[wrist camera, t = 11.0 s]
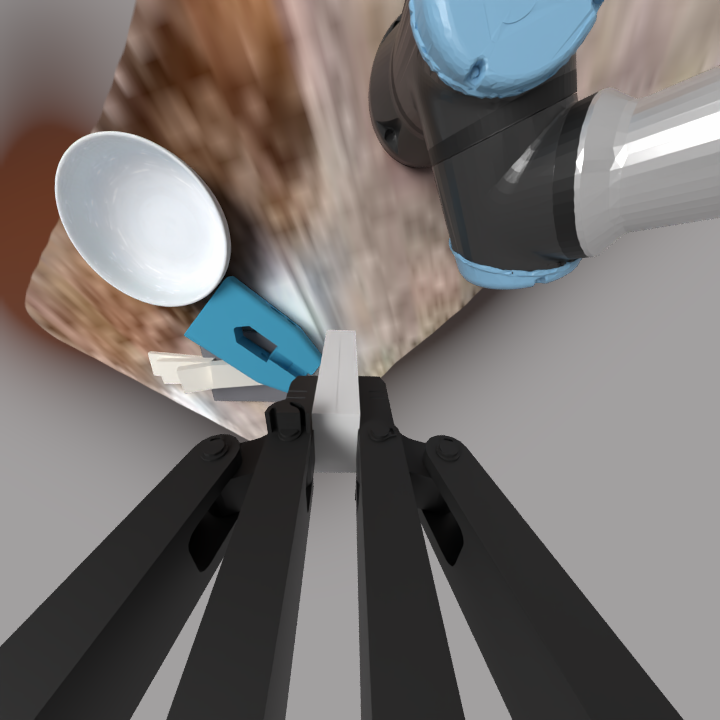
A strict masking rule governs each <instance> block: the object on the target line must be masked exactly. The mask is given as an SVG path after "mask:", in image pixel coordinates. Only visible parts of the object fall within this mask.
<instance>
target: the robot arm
mask: <svg viewBox="0 0 720 720" xmlns="http://www.w3.org/2000/svg"><path fill="white" fill-rule="evenodd" d="M603 2H604V0H405V3H404V7H403V11H402V14H401V15H400V16H399V17H398V18H397V19H396V20H395V21H394V22H393V23H392V25H391V26H390V28H389V29H388V30H387V32H386V34H385V35H384V37H383V39H382V41H381V43H380V45H379V48H378V50H377V53H376V56H375V59H374V62H373V66H372V71H371V77H370V84H369V111H370V117H371V121H372V125H373V128H374V131H375V133H376V136H377V138H378V140H379V141H380V143H381V145H382V146H383V148H384V149H385V150H386V151H387V152H388V153H389V155H391V156H392V157H393V158H394V159H395V160H397V161H399V162H400V163H402V164H405V165H407V166H411V167H417V168H423V167H430V166H432V170H433V174H434V178H435V182H436V186H437V190H438V194H439V198H440V202H441V205H442V209H443V213H444V217H445V221H446V225H447V229H448V233H449V237H450V239H449V246H450V249H451V251H452V253H453V254H454V256H455V259H456V263H457V266H458V269H459V271H460V273H461V274H462V276H463V277H464V278H465V279H466V280H467V281H469V282H470V283H472V284H474V285H477V286H480V287H484V288H491V289H521V288H527V287H533V286H534V284H535V283H549V282H552V281H554V280H557V279H559V278H561V277H563V276H565V275H567V274H568V273H570V272H571V271H573V270H574V269H575V268H576V267H577V266H578V264H579V262H580V260H581V259H582V258H585V257H594V256H598V255H600V254H601V253H603V252H604V251H605V250H606V249H607V248H608V247H609V246H611V245H612V244H613V243H614V242H615V241H617V240H618V239H619V238H620V237H622V236H623V235H625V234H627V233H629V232H634V231H640V230H646V229H653V228H659V227H665V226H671V225H678V224H684V223H689V222H696V221H702V220H709V219H714V218H720V65H719V66H717V67H714V68H712V69H710V70H707V71H705V72H703V73H700V74H698V75H696V76H693V77H691V78H689V79H686V80H684V81H682V82H679V83H677V84H675V85H672V86H670V87H668V88H666V89H663V90H661V91H659V92H656V93H654V94H652V95H649V96H647V97H642V98H634V97H632V96H630V95H628V94H625V93H623V92H621V91H619V90H617V89H615V88H613V87H608V88H605V89H602V90H600V91H599V92H597V93H595V94H593V95H591V96H588V97H586V98H584V99H582V100H580V101H578V97H577V93H575V92H577V72H576V51H577V49H578V48H579V46H580V45H581V44H582V43H583V41H584V39H585V38H586V36H587V35H588V33H589V32H590V30H591V29H592V27H593V25H594V23H595V21H596V18H597V15H596V14H597V11H598V9H599V8H600V6H601V4H602V3H603ZM574 93H575V94H574ZM572 94H573V95H572ZM484 139H485V140H484ZM482 140H483V141H482ZM480 141H481V142H480ZM478 142H479V143H478ZM476 143H477V144H476ZM265 417H266V424H267V430H268V434H267V435H265V436H263V437H261V438H258V439H255V440H251V441H247V442H243V443H239V441H238V440H237V439H236V437H234V436H231V435H226V434H220V435H216V436H211V437H209V438H207V439H205V440H203V441H201V442H200V443H199V444H197V445H196V446H195V447H194V448H193V449H192V450H191V451H190V452H189V453H188V454H187V455H186V456H185V457H184V458H183V459H182V460H181V461H180V462H179V463H178V464H177V465H176V466H175V467H174V468H173V470H172V471H170V472H169V474H168V475H167V476H166V477H165V478H164V479H163V480H162V481H161V482H160V483H159V484H158V485H157V486H156V487H155V488H154V489H153V490H152V491H151V492H150V493H149V494H148V495H147V496H146V497H145V498H144V499H143V500H142V501H141V502H140V503H139V504H138V505H137V507H135V509H134V510H133V511H132V512H131V513H130V514H129V515H128V516H127V517H126V518H125V519H124V520H123V521H122V522H121V523H120V524H119V525H118V526H117V527H116V528H115V529H114V530H113V531H112V532H111V533H110V534H109V535H108V536H107V537H106V538H105V540H103V542H102V543H101V544H100V545H99V546H98V547H97V548H96V549H95V550H94V551H93V552H92V553H91V554H90V555H89V556H88V557H87V558H86V559H85V560H84V561H83V562H82V563H81V564H80V565H79V566H78V567H77V568H76V569H75V570H74V571H73V572H72V573H71V574H70V576H68V578H67V579H66V580H65V581H64V582H63V583H62V584H61V585H60V586H59V587H58V588H57V589H56V590H55V591H54V592H53V593H52V594H51V595H50V596H49V597H48V598H47V599H46V600H45V601H44V602H43V603H42V604H41V605H40V606H39V607H38V608H37V609H36V611H35V612H34V613H33V614H32V615H31V616H30V617H29V618H28V619H27V620H26V621H25V622H24V623H23V624H22V625H21V626H20V627H19V628H18V629H17V630H16V631H15V632H14V633H13V634H12V635H11V636H10V637H9V638H8V639H7V640H6V641H5V642H4V643H3V644H2V645H1V647H0V720H130V719H131V717H132V715H133V713H134V712H135V710H136V708H137V706H138V705H139V703H140V701H141V699H142V697H143V696H144V694H145V692H146V690H147V689H148V687H149V685H150V684H151V682H152V680H153V679H154V677H155V675H156V673H157V672H158V670H159V668H160V666H161V665H162V663H163V661H164V659H165V658H166V656H167V654H168V653H169V651H170V649H171V647H172V646H173V644H174V642H175V640H176V639H177V637H178V635H179V633H180V632H181V630H182V628H183V626H184V625H185V623H186V621H187V619H188V618H189V616H190V614H191V613H192V611H193V609H194V607H195V606H196V604H197V602H198V600H199V599H200V597H201V595H202V593H203V592H204V590H205V588H206V587H207V585H208V583H209V581H210V580H211V578H212V576H213V574H214V573H215V571H216V569H217V568H218V566H219V564H220V562H221V561H222V559H223V561H222V564H221V567H220V570H219V572H218V575H217V578H216V581H215V584H214V587H213V590H212V593H211V595H210V598H209V601H208V604H207V606H206V609H205V612H204V615H203V618H202V621H201V623H200V626H199V629H198V632H197V635H196V638H195V641H194V643H193V646H192V649H191V652H190V655H189V657H188V660H187V663H186V666H185V668H184V672H183V674H182V677H181V680H180V683H179V686H178V688H177V691H176V694H175V697H174V700H173V702H172V705H171V708H170V711H169V714H168V717H167V720H285V716H286V708H287V700H288V692H289V683H290V675H291V667H292V658H293V651H294V643H295V634H296V626H297V618H298V610H299V601H300V593H301V585H302V577H303V569H304V560H305V552H306V544H307V536H308V528H309V520H310V512H311V503H312V495H313V487H314V486H313V473H314V470H315V472H356V475H357V476H356V493H355V500H356V515H357V558H358V601H359V643H360V686H361V720H465V717H464V713H463V708H462V704H461V699H460V695H459V690H458V687H457V682H456V677H455V673H454V668H453V664H452V660H451V656H450V651H449V647H448V642H447V638H446V633H445V628H444V624H443V620H442V615H441V611H440V606H439V602H438V598H437V593H436V589H435V584H434V580H433V575H432V571H431V567H430V563H429V558H428V554H427V549H426V545H425V540H424V536H423V531H422V527H421V524H422V526H423V528H424V531H425V533H426V535H427V537H428V539H429V541H430V543H431V546H432V548H433V550H434V552H435V554H436V556H437V558H438V561H439V563H440V565H441V567H442V569H443V571H444V574H445V576H446V578H447V580H448V582H449V584H450V586H451V589H452V591H453V593H454V595H455V597H456V599H457V601H458V603H459V606H460V608H461V610H462V612H463V614H464V616H465V619H466V621H467V623H468V625H469V627H470V629H471V632H472V634H473V636H474V638H475V640H476V642H477V644H478V646H479V649H480V651H481V653H482V655H483V657H484V659H485V662H486V664H487V666H488V668H489V670H490V672H491V675H492V677H493V679H494V681H495V683H496V685H497V687H498V690H499V692H500V694H501V696H502V698H503V700H504V702H505V704H506V707H507V709H508V711H509V713H510V715H511V717H512V720H683V718H682V717H681V716H680V715H679V713H678V712H677V711H676V710H675V708H674V707H673V706H672V705H671V704H670V702H669V701H668V700H667V698H666V697H665V696H664V695H663V693H662V692H661V691H660V690H659V688H658V687H657V686H656V685H655V683H654V682H653V681H652V680H651V678H650V677H649V676H648V675H647V673H646V672H645V671H644V670H643V668H642V667H641V666H640V664H639V663H638V662H637V661H636V659H635V658H634V657H633V656H632V654H631V653H630V652H629V651H628V650H627V648H626V647H625V646H624V645H623V643H622V642H621V641H620V639H619V638H618V637H617V636H616V634H615V633H614V632H613V631H612V629H611V628H610V627H609V626H608V624H607V623H606V622H605V621H604V619H603V618H602V617H601V616H600V614H599V613H598V612H597V611H596V609H595V608H594V607H593V606H592V604H591V603H590V602H589V601H588V599H587V598H586V597H585V595H584V594H583V593H582V592H581V590H580V589H579V588H578V587H577V585H576V584H575V583H574V582H573V580H572V579H571V578H570V577H569V575H568V574H567V573H566V572H565V570H564V569H563V568H562V567H561V565H560V564H559V563H558V562H557V560H556V559H555V558H554V557H553V555H552V554H551V553H550V552H549V550H548V549H547V548H546V547H545V545H544V544H543V543H542V541H541V540H540V539H539V538H538V536H537V535H536V534H535V533H534V531H533V530H532V529H531V528H530V526H529V525H528V524H527V523H526V521H525V520H524V519H523V518H522V516H521V515H520V514H519V513H518V511H517V510H516V509H515V508H514V506H513V505H512V504H511V503H510V501H509V500H508V499H507V498H506V496H505V495H504V494H503V493H502V491H501V490H500V489H499V488H498V486H497V485H496V484H495V482H494V481H493V480H492V479H491V478H490V476H489V475H488V474H487V473H486V471H485V470H484V469H483V467H482V466H481V465H480V464H479V463H478V461H477V460H476V459H475V457H474V456H473V455H472V454H471V452H470V451H469V450H468V449H467V447H466V446H464V445H463V444H462V443H461V442H460V441H458V440H456V439H455V438H452V437H449V436H445V435H440V436H439V435H438V436H434V437H431V438H430V439H429V440H428V441H427V442H426V443H423V442H419V441H415V440H412V439H409V438H407V437H405V436H404V435H402V434H401V433H400V432H399V430H398V428H397V427H396V426H395V425H394V422H393V418H392V413H391V409H390V403H389V399H388V394H387V389H386V384H385V383H384V381H383V380H382V379H381V378H380V377H371V376H358V367H357V349H356V332H355V331H352V330H327V331H326V336H325V342H324V347H323V353H322V359H321V364H320V370H319V375H318V376H297V377H296V378H295V379H294V380H293V381H292V382H291V384H290V387H289V390H288V393H287V396H286V399H285V400H281V401H278V402H275V403H274V404H272V405H271V406H269V407H268V408H267V410H266V411H265ZM224 555H225V556H224ZM223 557H224V558H223Z"/></svg>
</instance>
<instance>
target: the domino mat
mask: <svg viewBox="0 0 720 720" xmlns="http://www.w3.org/2000/svg"><path fill="white" fill-rule="evenodd" d="M242 331H243V336H245V337H246V338H248V339H249V340H251V341H252V342H253V343H255V344H256V345H258V346H259V347H261V348H262V349H264V350H265V351H266V352H268V353H269V354H271V353H272V352H273V351H274V349H275V348H276V347H277V345H275V344H274V343H272V342H271V341H270V340H268V339H267V338H265V337H264V336H263V335H261V334H260V333H258V332H257V331H248V330H242ZM200 348H201V352H202V356H203V358H215V361H219V360H222V359H220V358H218V357H217V356H215V355H214V354H212V353H211V352H209V351H207V350H206V349H204V348H203V347H201V346H200ZM212 393H213V397H214V400H215V401H270V402H278V401H281V400H285V399H286V396H287V393H286V392H283V391H280V390H277V389H275V388H272V387H269V386H266V385H254V386H241V387H229V388H216V389H212Z"/></svg>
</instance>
